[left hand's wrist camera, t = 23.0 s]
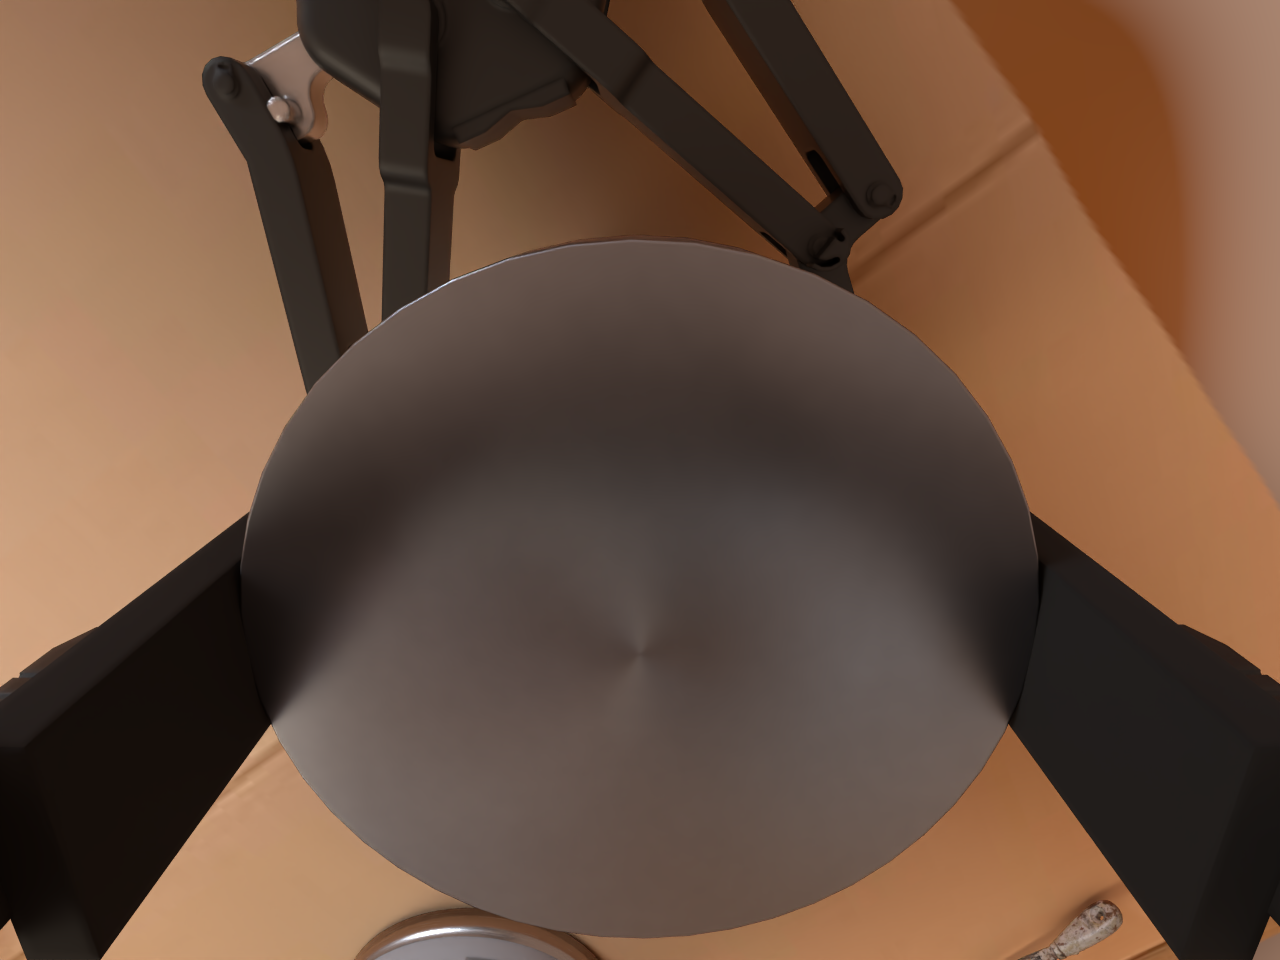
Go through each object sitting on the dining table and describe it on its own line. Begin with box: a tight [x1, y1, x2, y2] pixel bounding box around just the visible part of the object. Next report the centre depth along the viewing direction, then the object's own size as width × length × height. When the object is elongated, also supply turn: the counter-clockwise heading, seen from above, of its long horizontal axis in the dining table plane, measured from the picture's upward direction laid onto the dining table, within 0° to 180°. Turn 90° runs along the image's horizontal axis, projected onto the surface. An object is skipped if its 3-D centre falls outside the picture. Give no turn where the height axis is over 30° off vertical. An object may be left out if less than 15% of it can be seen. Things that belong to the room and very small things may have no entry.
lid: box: [240, 235, 1039, 938], centre depth 11 cm, size 11×11×2 cm
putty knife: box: [1018, 900, 1123, 960], centre depth 38 cm, size 1×8×2 cm, turn 139°
